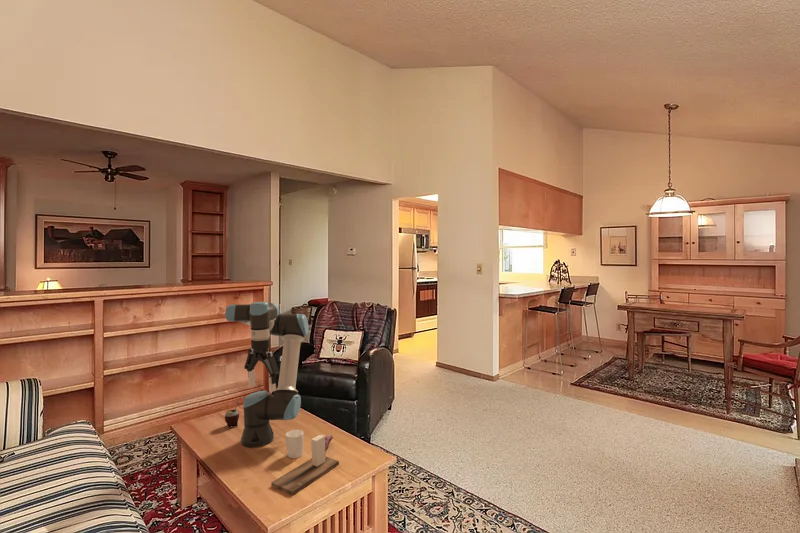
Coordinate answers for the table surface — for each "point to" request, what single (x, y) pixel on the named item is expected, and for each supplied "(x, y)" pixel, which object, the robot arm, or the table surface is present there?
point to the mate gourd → (232, 416)
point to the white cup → (294, 443)
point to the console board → (303, 476)
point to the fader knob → (318, 450)
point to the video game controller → (328, 440)
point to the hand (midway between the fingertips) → (262, 388)
